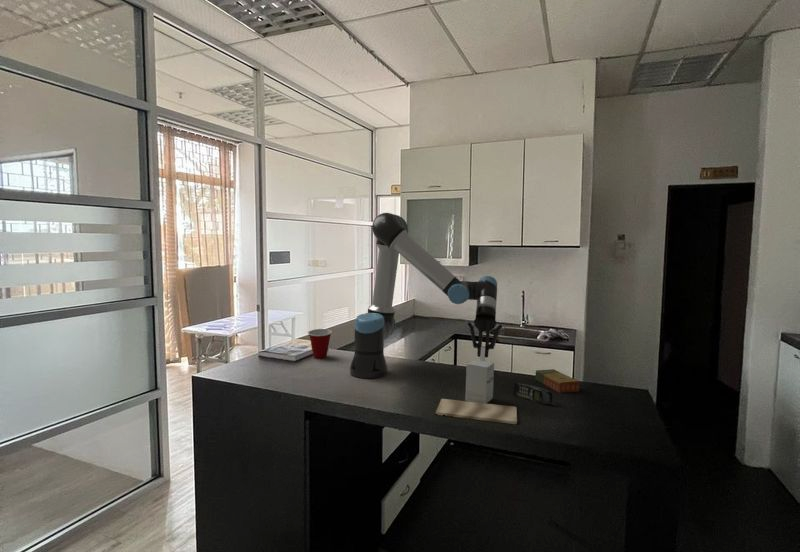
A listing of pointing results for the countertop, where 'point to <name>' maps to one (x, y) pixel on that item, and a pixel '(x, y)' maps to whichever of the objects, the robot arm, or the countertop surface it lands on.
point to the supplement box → (479, 381)
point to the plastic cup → (320, 342)
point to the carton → (557, 381)
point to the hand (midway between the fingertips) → (482, 364)
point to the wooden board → (477, 411)
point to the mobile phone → (533, 393)
